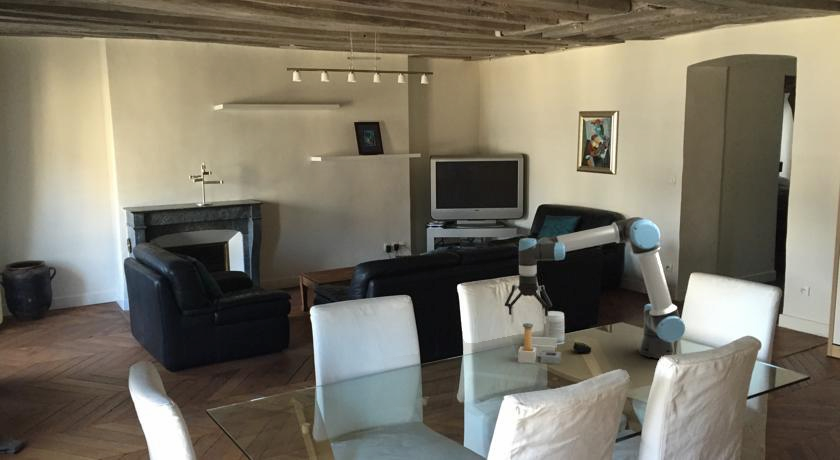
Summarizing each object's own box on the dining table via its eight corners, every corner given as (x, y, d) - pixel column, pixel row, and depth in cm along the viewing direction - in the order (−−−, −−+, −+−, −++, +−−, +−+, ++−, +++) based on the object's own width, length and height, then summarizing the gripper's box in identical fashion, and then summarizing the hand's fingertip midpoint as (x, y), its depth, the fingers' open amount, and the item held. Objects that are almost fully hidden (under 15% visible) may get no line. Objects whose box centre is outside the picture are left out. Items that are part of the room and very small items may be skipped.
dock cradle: (556, 348, 331) (556, 337, 331) (554, 357, 318) (554, 346, 317) (528, 346, 335) (528, 336, 334) (524, 355, 321) (524, 344, 320)
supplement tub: (568, 343, 339) (568, 313, 337) (556, 347, 333) (556, 316, 331) (551, 339, 346) (551, 309, 344) (539, 343, 340) (539, 313, 338)
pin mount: (560, 358, 316) (561, 352, 316) (559, 364, 308) (559, 357, 308) (542, 357, 318) (542, 350, 318) (540, 362, 310) (540, 356, 310)
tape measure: (576, 353, 320) (578, 345, 320) (570, 348, 327) (571, 340, 327) (590, 355, 322) (592, 347, 322) (583, 350, 328) (585, 342, 328)
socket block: (536, 358, 316) (536, 347, 316) (534, 363, 310) (534, 352, 309) (520, 357, 318) (520, 346, 318) (518, 362, 311) (518, 351, 311)
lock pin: (533, 359, 315) (533, 323, 314) (531, 362, 311) (532, 325, 310) (523, 359, 316) (523, 323, 315) (522, 361, 312) (522, 325, 311)
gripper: (558, 273, 309) (558, 321, 312) (500, 272, 316) (501, 319, 319) (556, 276, 302) (556, 325, 305) (497, 275, 309) (498, 323, 312)
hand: (528, 322), depth 312 cm, fingers open, 13 cm apart
